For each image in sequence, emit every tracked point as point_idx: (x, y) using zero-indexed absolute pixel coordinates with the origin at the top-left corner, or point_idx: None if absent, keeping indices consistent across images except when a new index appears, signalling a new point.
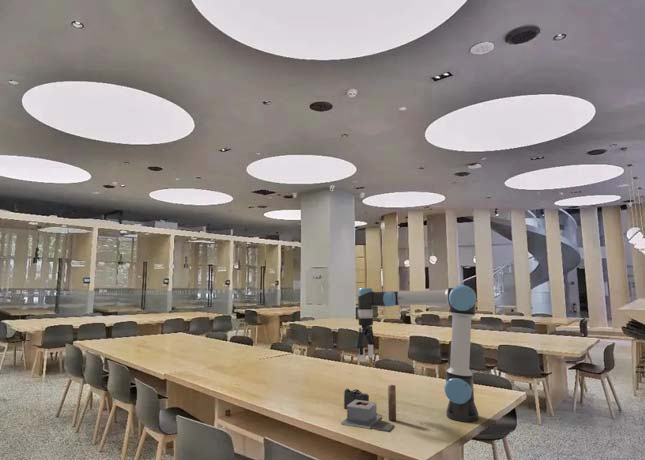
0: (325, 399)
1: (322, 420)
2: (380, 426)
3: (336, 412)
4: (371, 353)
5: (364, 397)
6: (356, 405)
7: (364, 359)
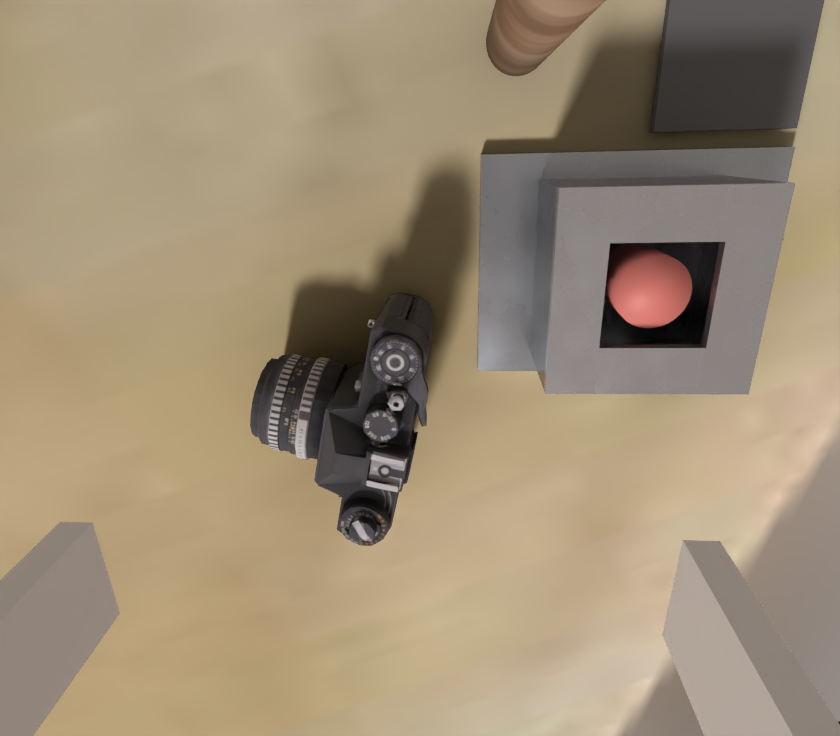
0: (277, 619)
1: (698, 492)
2: (751, 71)
3: (505, 477)
4: (39, 627)
5: (426, 348)
6: (736, 320)
7: (732, 578)
